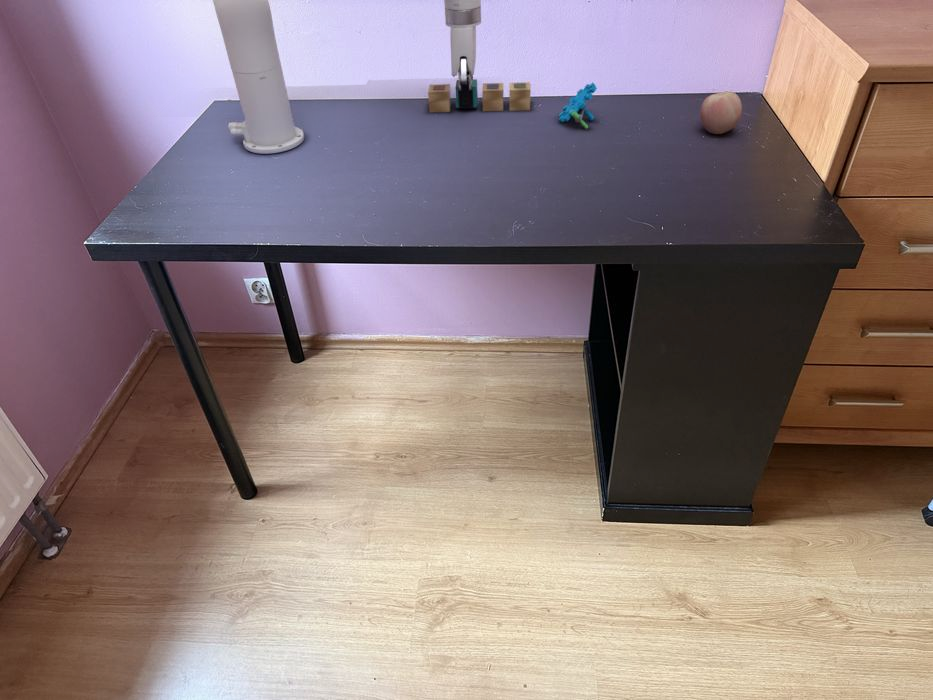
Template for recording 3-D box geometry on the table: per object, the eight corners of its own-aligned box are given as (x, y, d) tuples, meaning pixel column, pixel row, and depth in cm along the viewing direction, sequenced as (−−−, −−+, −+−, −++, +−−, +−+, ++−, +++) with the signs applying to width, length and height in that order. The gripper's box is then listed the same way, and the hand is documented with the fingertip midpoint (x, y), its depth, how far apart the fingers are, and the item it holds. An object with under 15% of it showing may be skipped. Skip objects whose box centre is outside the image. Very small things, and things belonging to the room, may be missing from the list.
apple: (724, 122, 138) (732, 83, 133) (744, 136, 132) (754, 96, 127) (689, 127, 137) (697, 88, 131) (709, 142, 131) (717, 102, 126)
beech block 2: (482, 111, 148) (482, 90, 145) (483, 103, 151) (482, 82, 148) (503, 110, 148) (503, 89, 144) (503, 103, 151) (503, 82, 148)
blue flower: (561, 101, 146) (595, 72, 139) (579, 120, 148) (613, 92, 141) (551, 128, 139) (587, 98, 132) (570, 147, 141) (606, 119, 134)
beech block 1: (429, 112, 149) (427, 91, 146) (431, 104, 152) (429, 84, 149) (449, 112, 148) (448, 90, 145) (451, 104, 152) (450, 83, 149)
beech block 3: (509, 110, 147) (509, 89, 144) (509, 103, 151) (509, 82, 148) (530, 110, 147) (530, 89, 144) (529, 102, 151) (530, 81, 148)
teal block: (456, 107, 148) (455, 86, 145) (457, 100, 151) (456, 79, 148) (476, 107, 147) (476, 86, 144) (477, 99, 151) (477, 78, 148)
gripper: (448, 5, 144) (452, 90, 156) (442, 27, 131) (447, 118, 143) (482, 4, 143) (484, 89, 155) (479, 26, 131) (482, 117, 142)
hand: (466, 102), depth 149 cm, fingers closed on teal block, 4 cm apart
